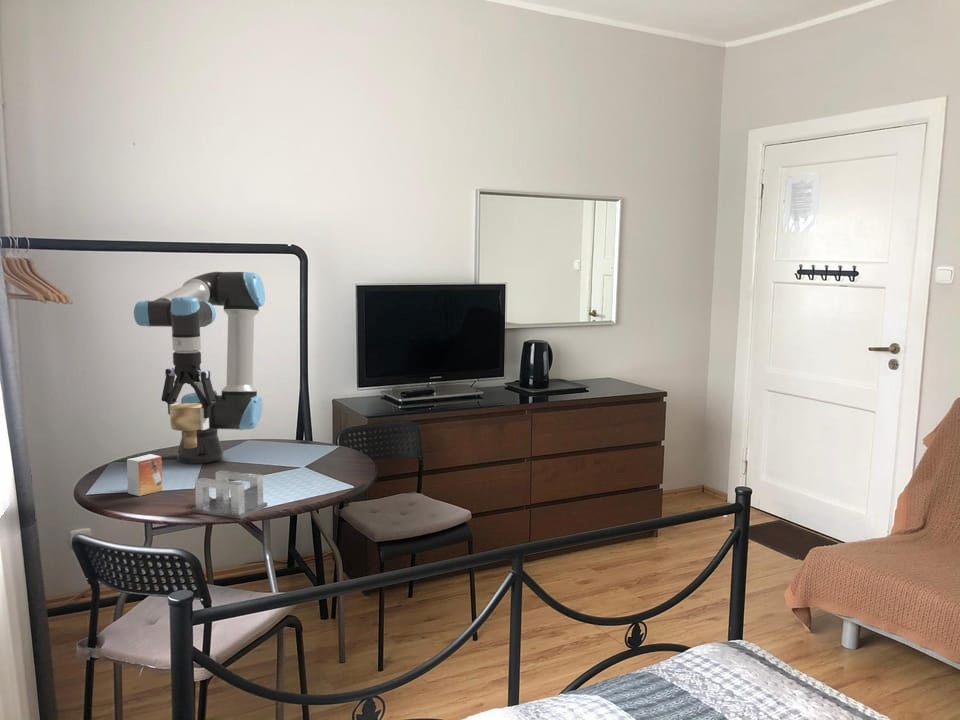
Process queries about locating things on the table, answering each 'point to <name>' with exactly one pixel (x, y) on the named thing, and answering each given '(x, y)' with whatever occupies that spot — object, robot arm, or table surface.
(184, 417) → the mushroom peg
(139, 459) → the small box
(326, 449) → the table surface
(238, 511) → the fork bracket
